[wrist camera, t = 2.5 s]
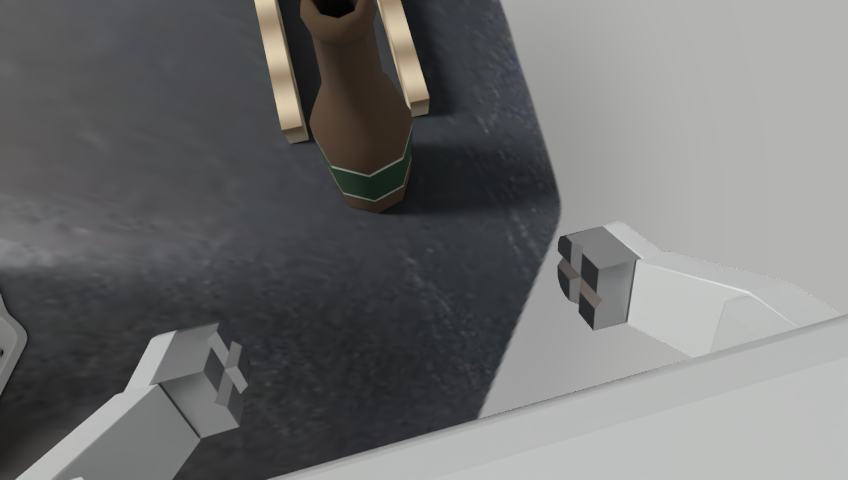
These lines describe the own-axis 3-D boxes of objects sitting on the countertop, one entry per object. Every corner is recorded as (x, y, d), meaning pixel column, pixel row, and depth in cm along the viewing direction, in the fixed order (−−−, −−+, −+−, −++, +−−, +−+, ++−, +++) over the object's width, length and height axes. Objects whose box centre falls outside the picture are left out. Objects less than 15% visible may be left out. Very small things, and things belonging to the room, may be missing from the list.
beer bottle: (426, 173, 43) (449, -15, 20) (380, 230, 42) (348, 99, 18) (367, 131, 44) (324, -97, 21) (320, 186, 43) (216, 6, 19)
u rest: (428, 113, 45) (429, 98, 42) (290, 143, 43) (281, 130, 40) (373, -73, 50) (371, -98, 47) (248, -51, 49) (238, -76, 46)
